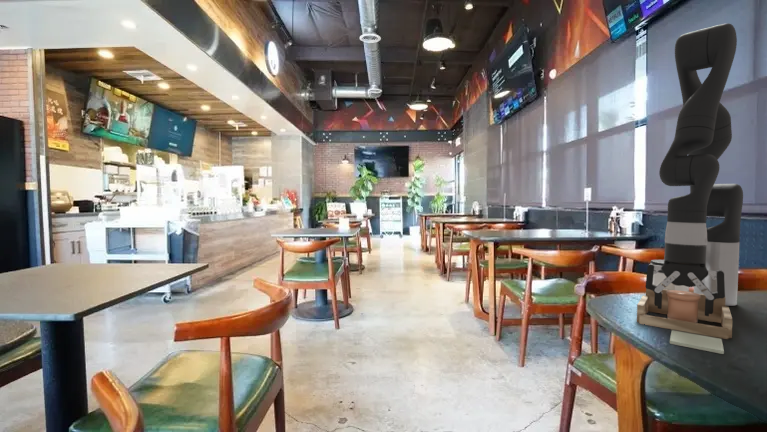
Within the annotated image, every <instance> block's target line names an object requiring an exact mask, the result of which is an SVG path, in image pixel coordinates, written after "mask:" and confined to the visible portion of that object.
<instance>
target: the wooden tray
mask: <svg viewBox="0 0 767 432" xmlns="http://www.w3.org/2000/svg"><path fill="white" fill-rule="evenodd" d="M666 291H668V290H665V289H663V290H662V291H661V292H662V309H658V306H655V304H654V300H655V293H654V291H652V290H650V289H647V288H646V287H645V295H642V296H641V298H640V299H639V300H638V303H637V305H636V306H637V307H636V323H638V325H640V324H641V325H644V324H645V325H646V326H651V327H657V328H662V329H668V330H671V331H672V330H674V331H680V332H685V333H691V334H696V335H702V336H708V337H713V338H719V339H722V340H723V339H724V340H729V339H732V338H733V337H732V336H733V317H732V314H731V310H730V307H729V306H725V300H726V298H725V297H724V298H719V299H715V300H714V304H713V313H712V314H709V316H705V298H706V296H705V295H704V294H699V295H701V298H700V301H698V321H699V320H700V321H707V322H711V323H713V322H714V323H718V324H720V325H721V326H716V325H710V324H704V323H698V322H697V323H693V322H687V321H681V320H674V319H668V318H667V317H661V316H654V315H649V314H648V313H649V312H650V313H656V314H662V315H667V314H668V297H667V296H666Z"/></svg>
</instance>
